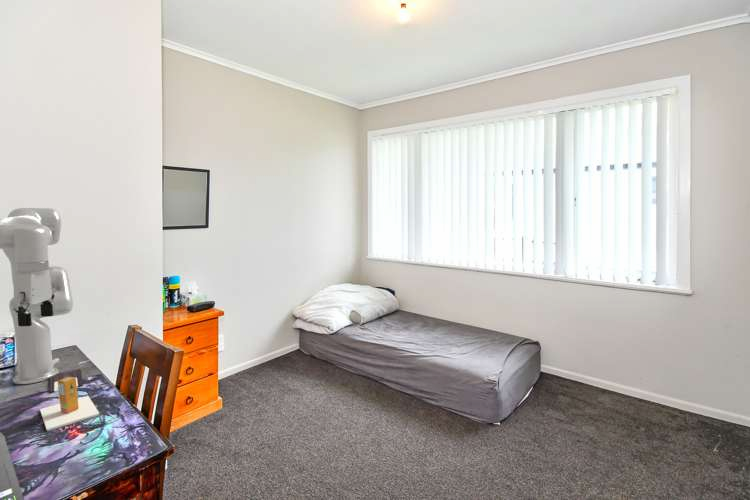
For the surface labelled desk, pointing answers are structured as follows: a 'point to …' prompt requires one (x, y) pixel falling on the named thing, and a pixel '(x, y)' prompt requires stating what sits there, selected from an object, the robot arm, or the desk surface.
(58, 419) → the mat
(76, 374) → the chocolate bar
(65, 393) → the supplement box
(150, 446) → the desk surface
